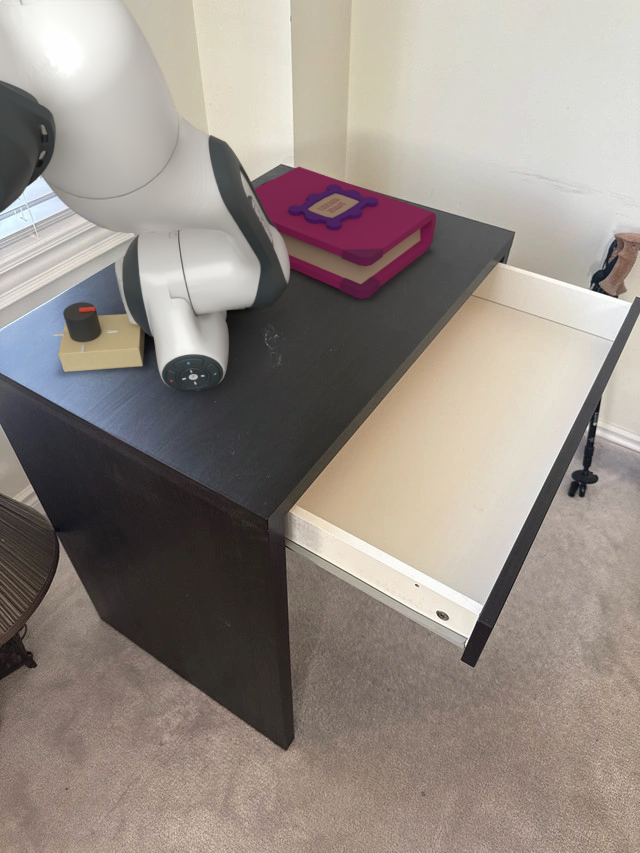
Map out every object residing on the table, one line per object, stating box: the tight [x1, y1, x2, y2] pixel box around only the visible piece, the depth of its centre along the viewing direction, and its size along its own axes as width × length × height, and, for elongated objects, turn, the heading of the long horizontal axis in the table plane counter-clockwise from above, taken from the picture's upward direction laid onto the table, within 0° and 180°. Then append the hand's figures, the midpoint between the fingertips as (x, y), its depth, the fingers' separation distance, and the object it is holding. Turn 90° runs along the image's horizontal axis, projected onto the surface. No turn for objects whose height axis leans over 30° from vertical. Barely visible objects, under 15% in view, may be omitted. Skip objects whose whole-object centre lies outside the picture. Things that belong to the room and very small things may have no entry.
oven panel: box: [52, 313, 146, 373], centre depth 84 cm, size 11×8×3 cm
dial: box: [62, 301, 101, 342], centre depth 82 cm, size 4×4×4 cm
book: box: [254, 166, 437, 300], centre depth 105 cm, size 21×28×8 cm
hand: (190, 246), depth 93 cm, fingers closed on box, 8 cm apart
